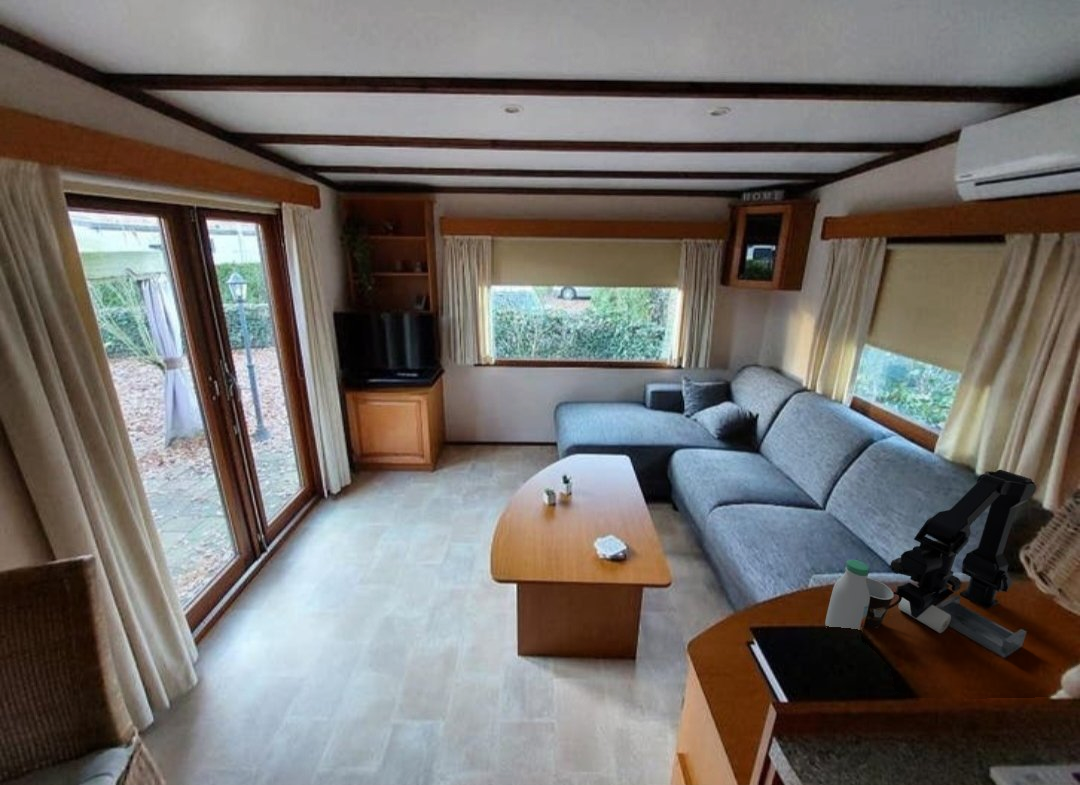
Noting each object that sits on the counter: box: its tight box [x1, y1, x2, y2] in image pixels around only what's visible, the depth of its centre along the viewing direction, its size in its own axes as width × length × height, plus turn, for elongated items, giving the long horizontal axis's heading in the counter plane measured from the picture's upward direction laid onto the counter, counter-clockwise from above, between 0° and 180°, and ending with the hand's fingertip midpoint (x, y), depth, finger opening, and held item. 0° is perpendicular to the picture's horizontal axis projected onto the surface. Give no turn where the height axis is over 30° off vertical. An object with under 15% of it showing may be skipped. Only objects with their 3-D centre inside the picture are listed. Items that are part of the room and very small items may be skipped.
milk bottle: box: [824, 559, 870, 632], centre depth 109 cm, size 8×8×20 cm
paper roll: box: [898, 598, 951, 634], centre depth 115 cm, size 9×6×6 cm, turn 24°
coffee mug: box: [864, 577, 902, 629], centre depth 114 cm, size 12×9×10 cm
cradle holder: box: [937, 594, 1028, 659], centre depth 112 cm, size 9×14×4 cm, turn 24°
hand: (920, 613), depth 116 cm, fingers open, 6 cm apart
